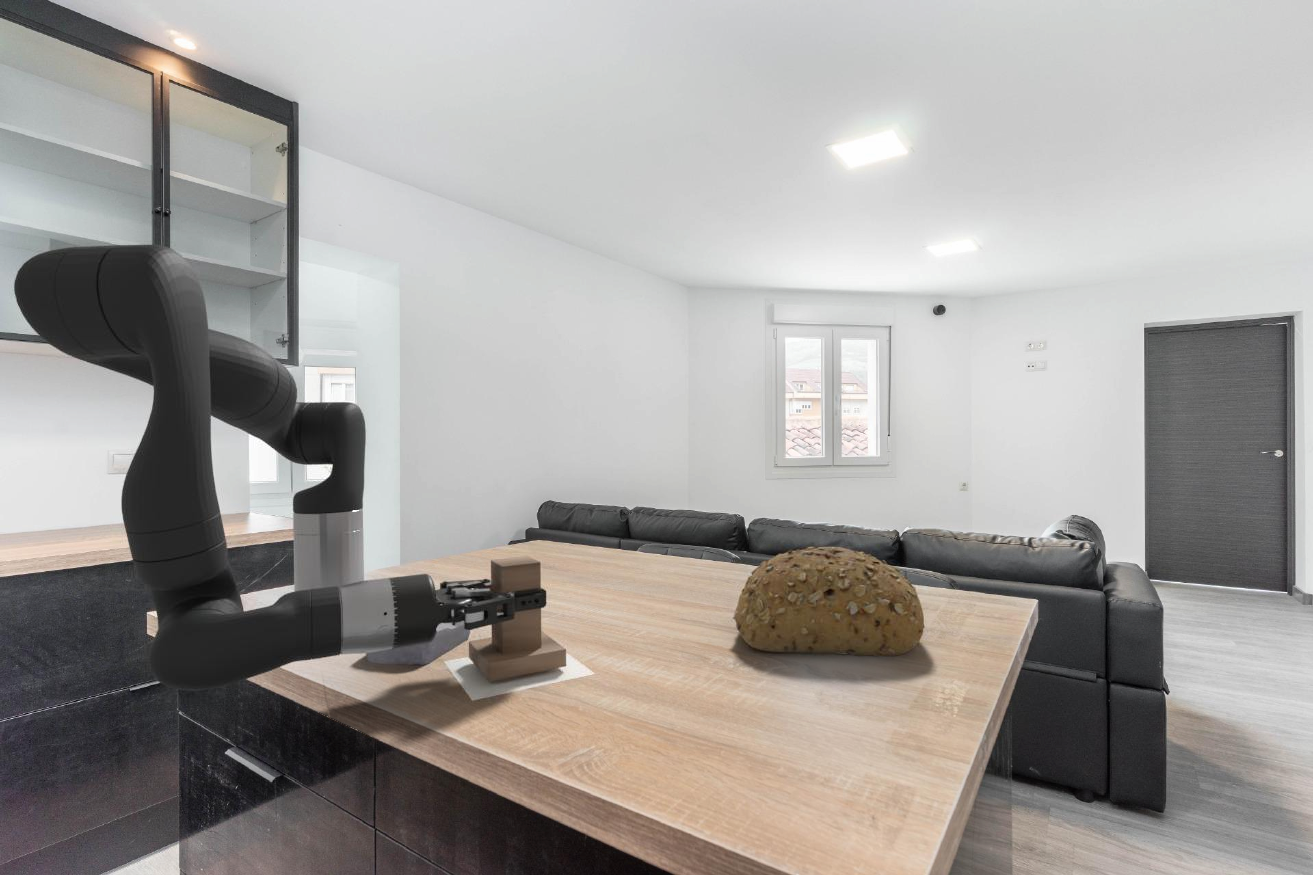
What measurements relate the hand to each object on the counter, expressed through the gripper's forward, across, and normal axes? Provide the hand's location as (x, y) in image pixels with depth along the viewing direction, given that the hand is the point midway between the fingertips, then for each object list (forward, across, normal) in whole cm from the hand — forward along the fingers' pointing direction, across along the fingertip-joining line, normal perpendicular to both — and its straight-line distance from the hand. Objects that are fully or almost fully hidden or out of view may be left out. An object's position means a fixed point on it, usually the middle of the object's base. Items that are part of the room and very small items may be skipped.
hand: (537, 592), depth 78 cm
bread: (+37, -10, +9) cm, 39 cm away
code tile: (-3, 0, +9) cm, 9 cm away
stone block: (-12, +14, +9) cm, 20 cm away
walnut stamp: (-3, 0, +8) cm, 8 cm away
